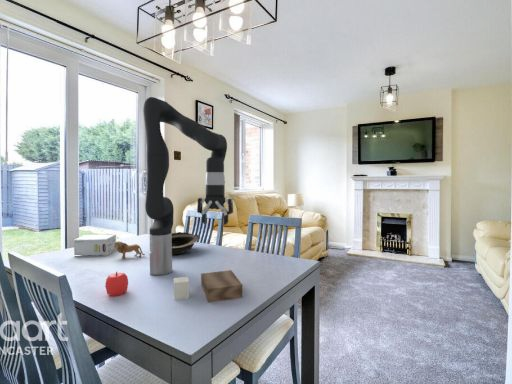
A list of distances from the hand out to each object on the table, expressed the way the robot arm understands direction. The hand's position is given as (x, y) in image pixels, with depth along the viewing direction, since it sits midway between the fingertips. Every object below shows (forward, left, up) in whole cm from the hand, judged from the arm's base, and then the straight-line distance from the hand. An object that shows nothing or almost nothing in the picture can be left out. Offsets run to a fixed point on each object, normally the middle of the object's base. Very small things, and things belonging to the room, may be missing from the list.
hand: (215, 224), depth 112 cm
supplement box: (-56, +63, -24) cm, 88 cm away
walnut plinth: (0, -11, -24) cm, 26 cm away
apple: (-36, -1, -23) cm, 43 cm away
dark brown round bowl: (-13, +51, -24) cm, 58 cm away
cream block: (-14, -11, -23) cm, 29 cm away
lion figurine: (-38, +47, -23) cm, 65 cm away
